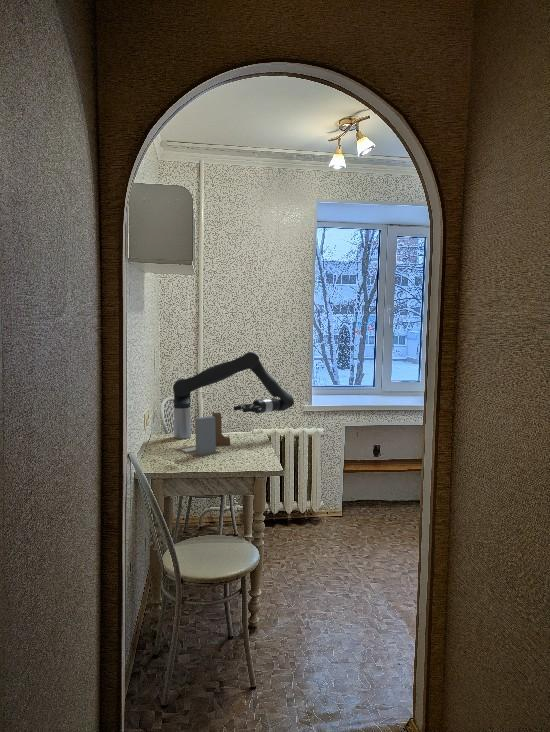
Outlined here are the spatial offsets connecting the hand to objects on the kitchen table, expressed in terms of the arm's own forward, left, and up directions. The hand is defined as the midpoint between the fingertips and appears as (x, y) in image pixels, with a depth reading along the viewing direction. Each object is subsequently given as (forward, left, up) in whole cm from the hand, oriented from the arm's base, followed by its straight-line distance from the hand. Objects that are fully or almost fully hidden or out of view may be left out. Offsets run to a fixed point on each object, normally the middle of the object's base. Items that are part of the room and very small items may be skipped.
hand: (238, 409), depth 310 cm
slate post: (+12, -28, -17) cm, 35 cm away
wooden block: (0, -11, -19) cm, 22 cm away
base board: (+5, -28, -19) cm, 34 cm away
